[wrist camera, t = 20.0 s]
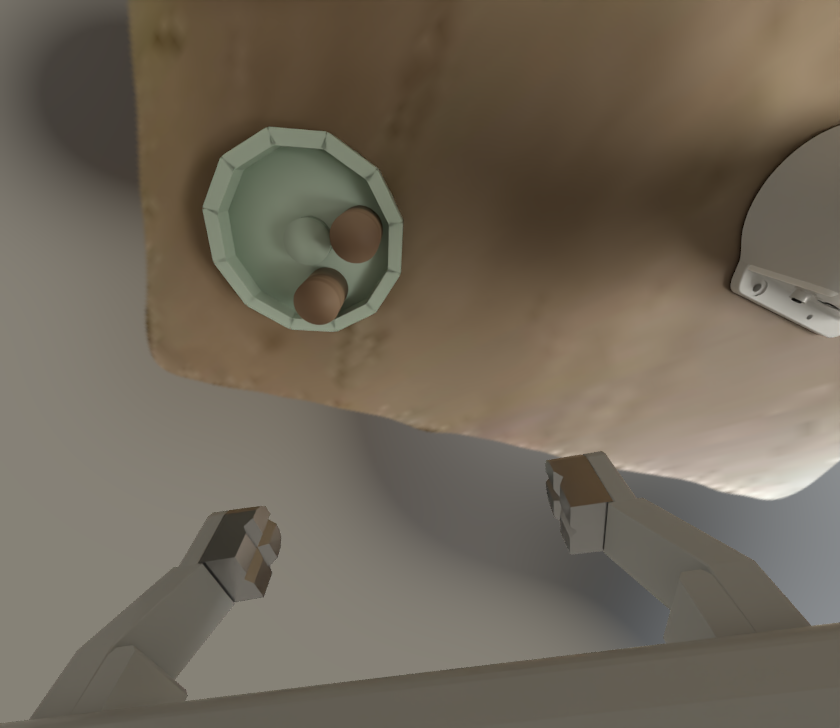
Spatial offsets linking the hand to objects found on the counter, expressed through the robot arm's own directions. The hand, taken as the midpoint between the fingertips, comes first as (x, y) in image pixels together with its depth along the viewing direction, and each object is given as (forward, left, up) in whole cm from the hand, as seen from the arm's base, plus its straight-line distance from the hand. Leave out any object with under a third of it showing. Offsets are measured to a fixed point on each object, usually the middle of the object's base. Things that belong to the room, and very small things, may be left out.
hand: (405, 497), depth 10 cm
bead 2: (+6, 0, -28) cm, 29 cm away
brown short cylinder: (+6, +6, -28) cm, 29 cm away
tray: (+9, +3, -29) cm, 31 cm away
